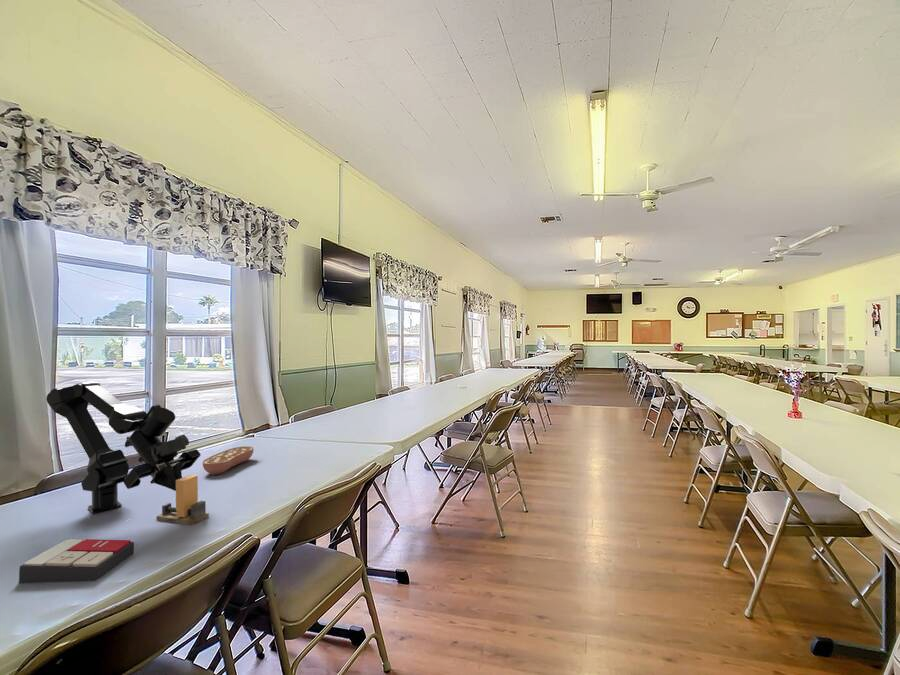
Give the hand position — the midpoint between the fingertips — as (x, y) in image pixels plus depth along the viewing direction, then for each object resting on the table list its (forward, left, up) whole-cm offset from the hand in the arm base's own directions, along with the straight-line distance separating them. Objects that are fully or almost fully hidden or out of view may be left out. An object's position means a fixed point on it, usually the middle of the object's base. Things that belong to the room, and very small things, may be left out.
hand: (182, 491), depth 113 cm
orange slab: (+1, +1, -6) cm, 6 cm away
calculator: (+10, -22, -8) cm, 26 cm away
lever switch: (0, 0, -7) cm, 7 cm away
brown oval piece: (-37, +27, -8) cm, 46 cm away
